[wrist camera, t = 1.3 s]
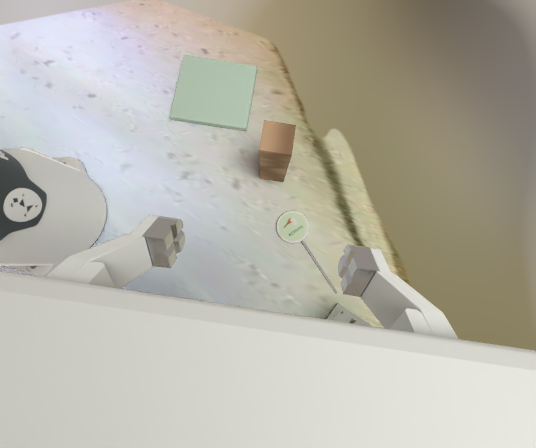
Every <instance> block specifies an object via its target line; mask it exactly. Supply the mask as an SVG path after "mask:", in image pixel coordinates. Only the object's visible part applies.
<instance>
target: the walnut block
mask: <svg viewBox="0 0 536 448" xmlns="http://www.w3.org/2000/svg"><path fill="white" fill-rule="evenodd" d="M295 127H296V125H292V124H285V123H279V122H273V121H266V120H264V124H263V130H262V136H261V143H260V149H259V166H260V179H267V180H273V181H280V182H283V181H284V178H285V175H286V172H287V168H288V165H289V162H290V159H291V155H292V149H293V141H294V134H295Z"/></svg>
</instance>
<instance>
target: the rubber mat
mask: <svg viewBox="0 0 536 448" xmlns="http://www.w3.org/2000/svg"><path fill="white" fill-rule="evenodd" d="M256 74H257V66H252V65H245V64H239V63H232V62H226V61H220V60H213V59H207V58H201V57H194V56H188V55H184V57H183V61H182V65H181V70H180V74H179V78H178V82H177V87H176V91H175V95H174V100H173V104H172V108H171V113H170V118H171V120H177V121H183V122H190V123H196V124H203V125H209V126H216V127H222V128H229V129H235V130H242V131H247V126H248V120H249V114H250V108H251V102H252V97H253V91H254V85H255V79H256Z"/></svg>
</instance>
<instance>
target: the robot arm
mask: <svg viewBox="0 0 536 448" xmlns="http://www.w3.org/2000/svg"><path fill="white" fill-rule="evenodd" d="M106 214H107V208H106V201H105V198H104V195H103V193H102V191H101V190H100V188H99V187H98V186H97V184H96V183H95V182H94V181H92V180H91V179H90V178H89V176H88V175H87V173H86V170H85V167H84V165H83V163H82V162H81V161H80V160H78V159H75V158H72V157H67V158H50V157H47V156H45V155H42V154H40V153H37V152H35V151H32V150H30V149H27V148H20V149H4V150H0V266H10V267H12V268H15V269H18V270H20V271H23V272H26V273H29V274H31V275H25V274H19V273H12V272H5V271H0V448H536V351H534V350H527V349H521V348H514V347H507V346H500V345H493V344H487V343H480V342H474V341H467V340H460V339H458V337H457V336H456V334H455V332H454V331H453V329H452V327H451V326H450V324H449V322H448V321H447V319H446V317H445V316H444V314H443V313H442V312H441V311H440V310H439V309H437V308H436V307H435V306H434V305H432V304H431V303H430V302H429V301H427V300H426V299H425V298H424V297H423V296H421V295H420V294H419V293H418V292H416V291H415V290H414V289H413V288H411V287H410V286H409V285H408V284H407V283H405V282H404V281H403V280H402V279H400V278H399V277H398V276H397V275H395V274H392V273H391V271H390V269H389V267H388V265H387V263H386V261H385V259H384V257H383V255H382V253H381V250H380V249H378V248H372V247H362V246H355V245H348V244H347V245H346V246H345V248H344V255H343V256H341V257H340V260H339V264H338V273H339V276H340V277H341V278H342V281H341V287H342V291H343V294H347V295H353V296H358V297H361V299H362V300H363V301H364V303H365V304H366V305H367V306H368V308H369V309H370V310H371V311H372V313H373V314H374V315H375V316H376V318H377V319H378V320H379V321H380V323H381V324H382V325H383V326H384V328H380V327H373V326H367V325H360V324H353V323H347V322H340V321H333V320H327V319H320V318H313V317H306V316H300V315H293V314H286V313H280V312H273V311H266V310H260V309H253V308H246V307H240V306H233V305H226V304H220V303H213V302H206V301H199V300H193V299H186V298H179V297H173V296H166V295H159V294H153V293H146V292H139V291H133V290H126V289H120V288H122V287H123V286H125V285H126V284H128V283H129V282H131V281H132V280H134V279H135V278H137V277H138V276H140V275H141V274H143V273H144V272H146V271H147V270H149V269H150V268H152V267H153V266H158V267H166V268H171V267H172V265H173V263H174V262H175V260H176V258H177V257H176V254H177V253H179V252H181V250H182V248H183V245H184V241H185V236H184V233H183V232H182V231H181V229H182V228H183V223H182V220H180V219H175V218H169V217H163V216H156V215H148V216H147V217H146V218H145V219H144V220H143V221H142V222H141V223H140V224H139V225H138V226H137V227H136V228H135V229H134V230H133V232H132V233H131V234H125V235H123V236H120V237H118V238H115V239H113V240H110V241H107V242H105V243H102V244H100V245H97V246H95V247H92V248H90V247H91V246H92V245H93V244H94V242H95V241H96V240H97V239H98V237H99V236H100V234H101V232H102V230H103V227H104V225H105V221H106ZM89 248H90V249H89ZM35 266H36V267H35ZM32 275H34V276H32ZM45 276H46V277H45Z"/></svg>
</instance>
